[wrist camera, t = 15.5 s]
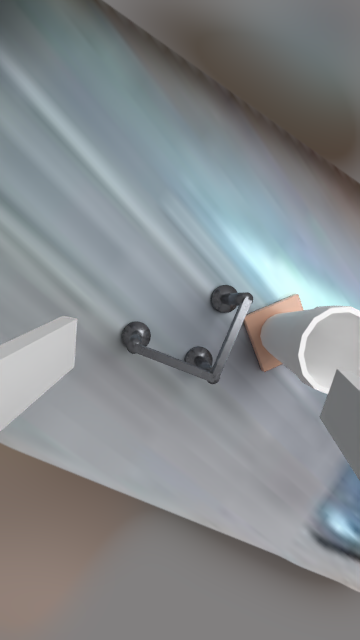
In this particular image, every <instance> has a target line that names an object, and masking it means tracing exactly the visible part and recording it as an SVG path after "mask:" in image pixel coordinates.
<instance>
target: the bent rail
mask: <svg viewBox="0 0 360 640" xmlns="http://www.w3.org/2000/svg"><path fill="white" fill-rule="evenodd" d="M211 301H212V305H213V306H214V308H215V309H216V310H218V311H220V312H225V313H226V312H230V311H232V310H234V309H235V308H236V306H239V307H238V309H237V312H236V314H235V316H234V319H233V321H232V323H231V326H230V328H229V330H228V333H227V335H226V338H225V340H224V342H223V345H222V347H221V349H220V352H219V354H218V356H217V359H216V361H215V363H214V366H213V367H212V361H213V360H212V355H211V353H210V352H209V351H208V350H207V349H205V348H203V347H195V348H192V349H191V350H190V351H189V352H188V353H187V355H186V358H185V362H184V361H182V360H179V359H176V358H174V357H171V356H169V355H166V354H164V353H161V352H159V351H156V350H153V349H151V348H148V347H146V346H147V345H148V343H149V341H150V337H151V335H150V330H149V328H148V327H147V326H146V325H145V324H144V323H141V322H132V323H129V324H128V325H127V326H126V327H125V328H124V330H123V333H122V339H123V342H124V344H125V345H126V346H127V350H128V351H129V352H130V353H133V354H135V353H138V354H140V355H143V356H145V357H148V358H151V359H153V360H156V361H158V362H161V363H164V364H166V365H169V366H171V367H174V368H177V369H179V370H182V371H184V372H187V373H189V374H192V375H195V376H197V377H200V378H202V379H205V380H207V381H208V382H209V383H210V384H216V383H217V382H218V381H219V379H220V375H221V373H222V370H223V368H224V366H225V363H226V361H227V358H228V356H229V354H230V351H231V349H232V347H233V344H234V342H235V340H236V337H237V335H238V333H239V330H240V328H241V326H242V323H243V321H244V319H245V316H246V314H247V312H248V309H249V307H250V305H251V304H252V302H253V296H252V295H251V294H250V293H237V291H236V290H235V289H234V288H233V287H231V286H229V285H223V286H219V287H217V288H216V289H215V290H214V292H213V293H212V297H211Z"/></svg>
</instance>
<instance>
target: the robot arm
mask: <svg viewBox="0 0 360 640" xmlns="http://www.w3.org/2000/svg"><path fill="white" fill-rule="evenodd" d="M76 331H77V318H72V317H67V316H62V317H59V318H57V319H55V320H53V321H51V322H49V323H47V324H44V325H42V326H40V327H38V328H36V329H34V330H32V331H29V332H27V333H25V334H23V335H21V336H19V337H17V338H14V339H12V340H10V341H8V342H6V343H4V344H2V345H0V431H2V430H3V429H4V428H5V427H6V426H7V425H8V424H10V423H11V422H12V421H13V420H14V419H15V418H16V417H18V416H19V415H20V414H21V413H22V412H23V411H24V410H26V409H27V408H28V407H29V406H30V405H31V404H32V403H34V402H35V401H36V400H37V399H38V398H39V397H40V396H42V395H43V394H44V393H45V392H46V391H47V390H48V389H50V388H51V387H52V386H53V385H54V384H55V383H56V382H58V381H59V380H60V379H61V378H62V377H63V376H64V375H66V374H67V373H68V372H69V371H70V370H71V369H72V368H74V363H75V347H76ZM320 418H321V420H322V422H323V423H324V425H325V426H326V428H327V430H328V431H329V433H330V434H331V436H332V437H333V439H334V441H335V442H336V444H337V445H338V447H339V449H340V450H341V452H342V453H343V455H344V457H345V458H346V460H347V461H348V463H349V464H350V466H351V468H352V469H353V471H354V472H355V474H356V476H357V477H358V479H359V480H360V378H359V377H358V376H357V375H356V374H355V373H354V372H351V371H346V370H341V369H337V370H336V373H335V375H334V378H333V381H332V384H331V387H330V390H329V392H328V395H327V398H326V401H325V404H324V407H323V410H322V412H321V415H320Z"/></svg>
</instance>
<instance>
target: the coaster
mask: <svg viewBox="0 0 360 640" xmlns="http://www.w3.org/2000/svg"><path fill="white" fill-rule="evenodd" d="M295 311H303V307H302V304H301V301H300V298H299V295H298V294H294V295H292V296H289V297H287V298H285V299H282V300H280V301H278V302H275V303H273V304H270V305H268V306H266V307H263V308H261V309H259V310H256V311H254V312H252V313H249V314H247V315H246V316H245V319H244V321H243V322H244V324H245V327H246V330H247V332H248V335H249V338H250V340H251V343H252V346H253V348H254V351H255V354H256V357H257V359H258V362H259V365H260V367H261V370H262V371H264V372H266V371H268V370H270V369H272V368H275V367H277V366H279V365H281V364H282V363H281V362H280V361H279V360H278V359H276V358H275V357H274V356H273V355H271V354H270V353H269V352H268V351H267V350H266V348H265V347H264V346H263V345H262V341H261V337H260V334H261V329H262V326H263V324H264V323H265V322H266V320H267V319H268V318H270V317H272V316H273V315H275V314H280V313H288V312H295Z"/></svg>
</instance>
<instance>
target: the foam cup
mask: <svg viewBox="0 0 360 640" xmlns="http://www.w3.org/2000/svg"><path fill="white" fill-rule="evenodd" d="M260 337H261V341H262V345H263V346H264V347H265V348H266V350H267V351H268V352H269V353H270V354H271V355H273V356H274V357H275V358H276V359H278V360H279V361H280V362H281V363H282V364H284V365H285V366H286V367H287V368H288V369H290V370H291V371H292V372H293V373H294V374H296V375H297V377H298V378H299V379H300V380H301V381H302V382H303V383H305V384H306V385H308V386H310V387H312V388H314V389H316V390H318V391H321V392H323V393H326V394H328V392H329V390H330V387H331V384H332V381H333V378H334V375H335V373H336V370H337V369H341V370H346V371H351V372H354V373H355V374H356V375H357V376H358V377H359V378H360V311H359V310H357V309H355V308H353V307H351V306H323V307H316V308H314V309H311V310H303V311H295V312H288V313H280V314H275V315H273V316H272V317H270V318H268V319H267V320H266V322H265V323H264V324H263V326H262V329H261V334H260Z"/></svg>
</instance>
